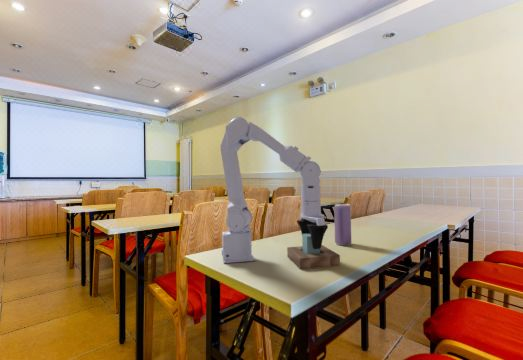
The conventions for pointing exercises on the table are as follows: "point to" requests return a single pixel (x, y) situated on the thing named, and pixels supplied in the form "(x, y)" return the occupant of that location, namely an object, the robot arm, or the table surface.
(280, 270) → the table surface
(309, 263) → the well block
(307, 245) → the bracket post
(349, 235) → the beverage can
